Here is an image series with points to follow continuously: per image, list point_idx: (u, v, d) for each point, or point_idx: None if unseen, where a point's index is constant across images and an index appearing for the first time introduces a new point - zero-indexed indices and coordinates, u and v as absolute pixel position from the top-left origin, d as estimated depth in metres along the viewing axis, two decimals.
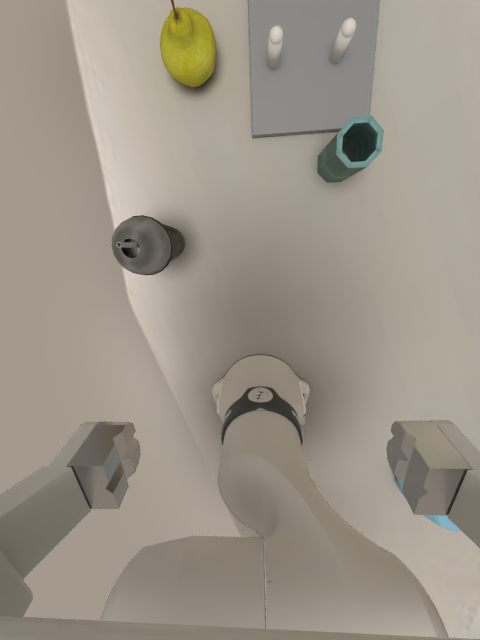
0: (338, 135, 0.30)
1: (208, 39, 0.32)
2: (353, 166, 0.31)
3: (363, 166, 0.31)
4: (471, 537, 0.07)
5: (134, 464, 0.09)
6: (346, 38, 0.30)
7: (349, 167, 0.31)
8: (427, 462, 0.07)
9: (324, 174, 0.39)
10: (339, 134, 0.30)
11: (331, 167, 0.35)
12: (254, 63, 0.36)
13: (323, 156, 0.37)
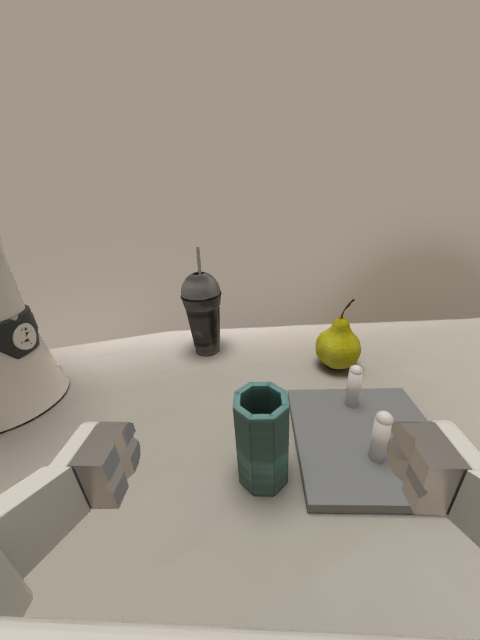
0: (268, 382, 0.27)
1: (343, 346, 0.41)
2: (235, 395, 0.25)
3: (234, 404, 0.24)
4: (471, 537, 0.07)
5: (134, 464, 0.09)
6: (375, 419, 0.27)
7: (235, 393, 0.26)
8: (427, 462, 0.07)
9: None
10: (270, 384, 0.27)
11: None
12: (346, 391, 0.38)
13: None
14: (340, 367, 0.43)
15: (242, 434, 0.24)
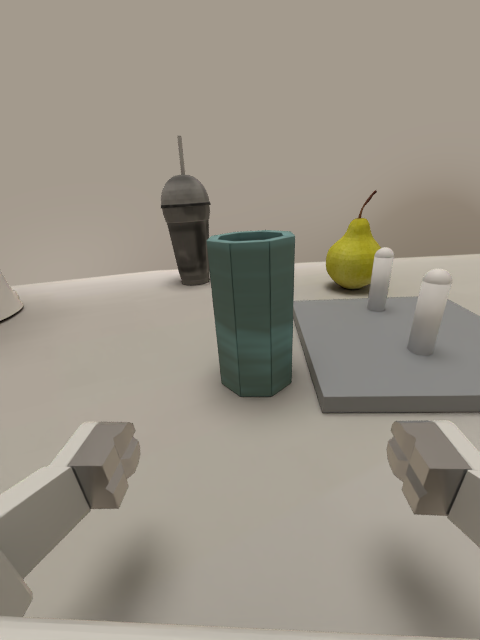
0: (263, 230, 0.18)
1: (361, 251, 0.32)
2: (212, 236, 0.17)
3: None
4: (471, 537, 0.07)
5: (134, 464, 0.09)
6: (422, 283, 0.18)
7: None
8: (427, 462, 0.07)
9: None
10: None
11: None
12: (367, 299, 0.29)
13: None
14: (357, 282, 0.34)
15: (221, 285, 0.16)
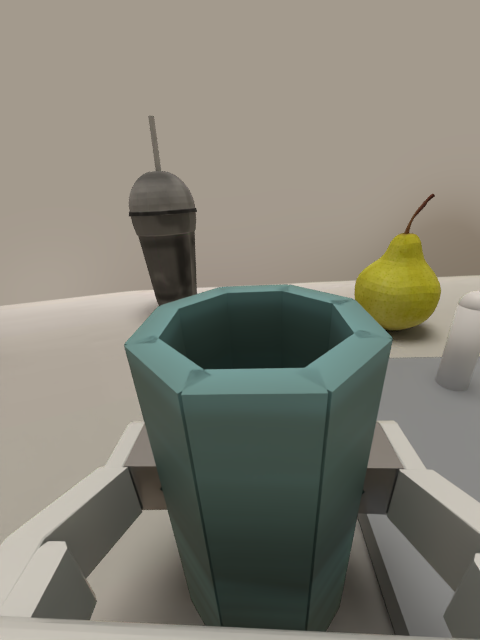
0: (282, 285, 0.08)
1: (412, 282, 0.22)
2: (156, 313, 0.07)
3: (136, 338, 0.06)
4: (406, 536, 0.07)
5: None
6: None
7: None
8: None
9: None
10: None
11: None
12: (429, 361, 0.19)
13: None
14: (403, 324, 0.24)
15: (171, 469, 0.05)
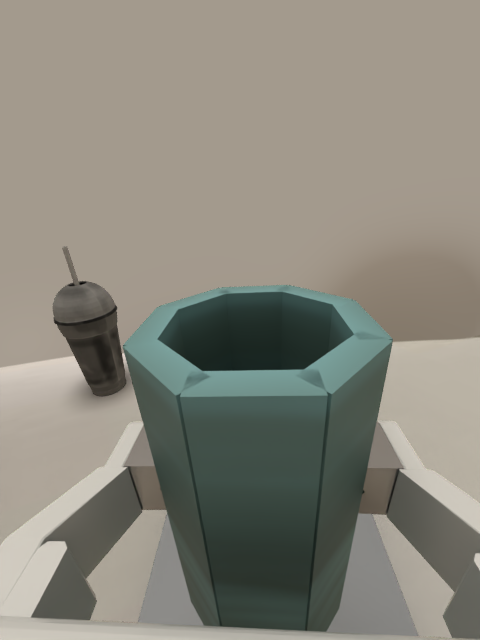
0: (282, 286, 0.08)
1: None
2: (155, 314, 0.07)
3: (134, 339, 0.06)
4: (406, 535, 0.07)
5: None
6: None
7: None
8: None
9: None
10: None
11: None
12: None
13: None
14: None
15: (170, 471, 0.05)
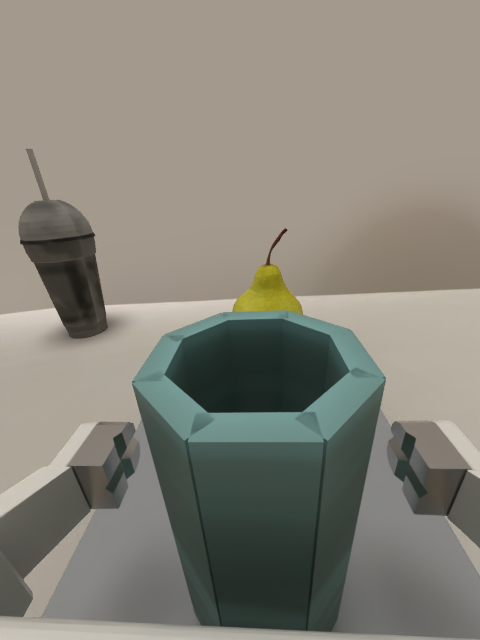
0: (282, 312, 0.08)
1: None
2: (161, 344, 0.07)
3: (142, 374, 0.06)
4: (471, 537, 0.07)
5: (134, 464, 0.09)
6: None
7: None
8: (427, 462, 0.07)
9: None
10: (287, 318, 0.08)
11: None
12: None
13: None
14: None
15: (176, 498, 0.06)
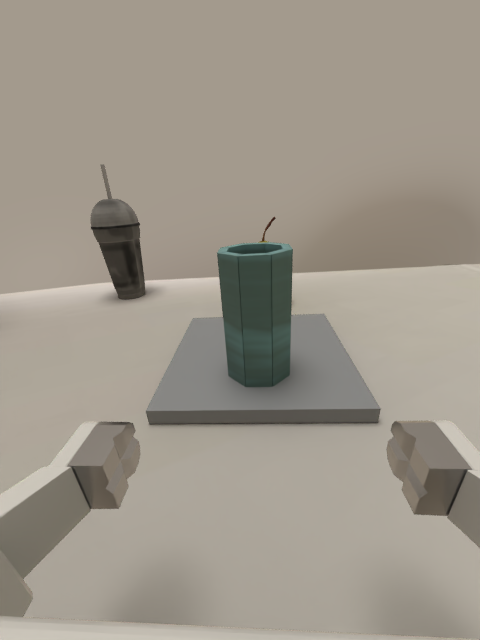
0: (265, 242, 0.21)
1: None
2: (221, 248, 0.19)
3: (219, 252, 0.18)
4: (471, 537, 0.07)
5: (135, 464, 0.09)
6: None
7: (221, 249, 0.20)
8: (427, 462, 0.07)
9: None
10: None
11: None
12: None
13: None
14: None
15: (230, 291, 0.18)
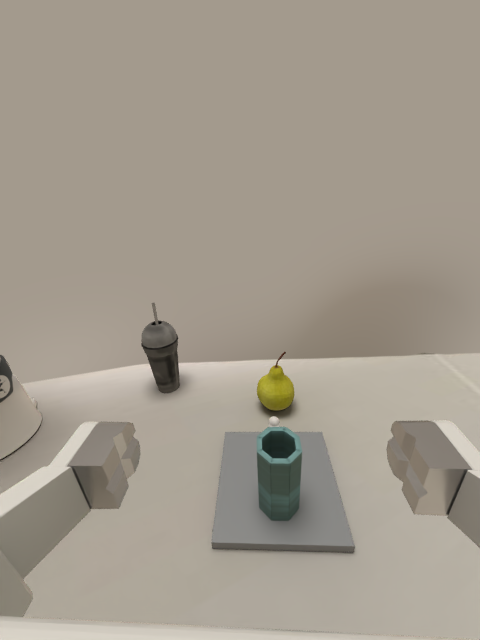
0: (284, 427, 0.33)
1: (276, 392, 0.48)
2: (257, 440, 0.31)
3: (257, 449, 0.30)
4: (471, 537, 0.07)
5: (134, 464, 0.09)
6: None
7: (257, 437, 0.32)
8: (427, 462, 0.07)
9: None
10: (285, 429, 0.33)
11: None
12: None
13: None
14: (275, 409, 0.49)
15: (264, 472, 0.30)
